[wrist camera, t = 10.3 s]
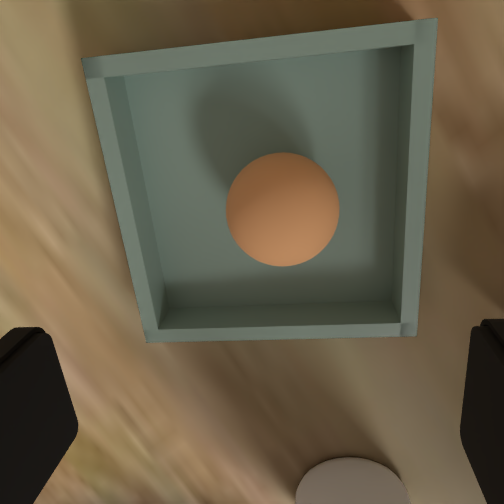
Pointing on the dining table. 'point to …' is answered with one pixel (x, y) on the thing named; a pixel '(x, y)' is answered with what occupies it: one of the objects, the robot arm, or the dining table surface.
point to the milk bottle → (351, 484)
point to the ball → (282, 209)
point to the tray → (260, 144)
